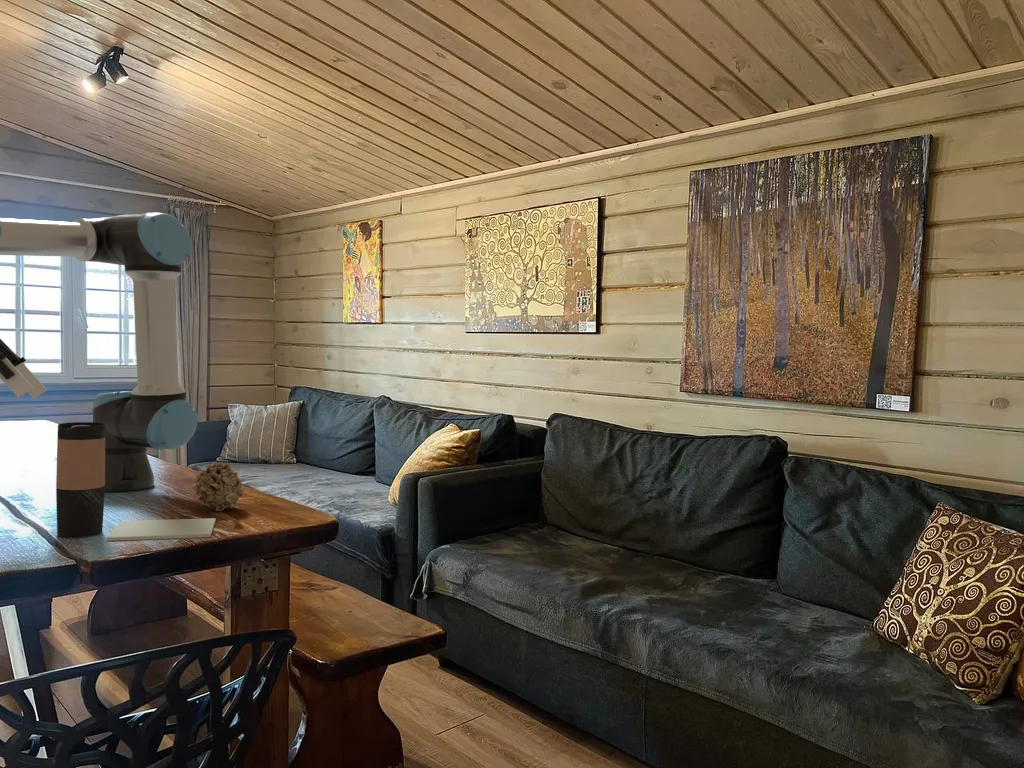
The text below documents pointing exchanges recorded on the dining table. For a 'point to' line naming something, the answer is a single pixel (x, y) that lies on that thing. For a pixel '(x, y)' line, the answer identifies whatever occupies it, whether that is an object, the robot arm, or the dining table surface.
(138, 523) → the mug mat
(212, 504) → the pine cone
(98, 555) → the dining table surface
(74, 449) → the travel mug
